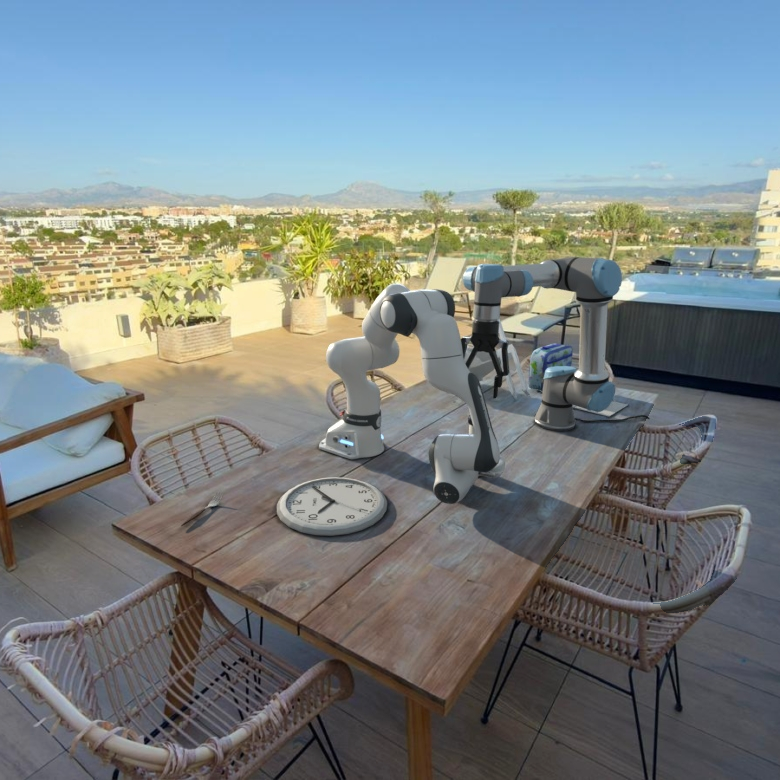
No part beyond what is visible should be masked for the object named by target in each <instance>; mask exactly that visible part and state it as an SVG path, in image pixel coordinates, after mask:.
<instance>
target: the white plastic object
mask: <svg viewBox="0 0 780 780" xmlns="http://www.w3.org/2000/svg"><path fill="white" fill-rule="evenodd" d="M498 321H499V333H498V336H499V339H500V340H502V341H508V340H507V337H506V334H505V331H504V328H503V325H502V321H501V318H499V319H498ZM473 348H474V346H469V344H467V349H466V353H465V358H464V362H465V363H466V361H467V360H468V358H469V356H470V354H471V352H472V350H473ZM495 350H496V354H497V357H498V360H499V363H500V365H501V368H503V362H502V348H500V347H499V348H498V349H495ZM507 350H508V361H510V360H513V363H514V366H515V369H516V372H517V376H518V380H519V382H520V385H521V389H522V391H523V393H524V395H525V396H526V397H528V396H531V395H530V390H529V386H528V384H527V381H526V378H525V375H524V371H523V369H522V368H523V367H522V366H521V362H520V359H519V355H518V352H517V349H516V347H515V346H514V345H513V343H511V344H510V343H509V345H508V348H507ZM468 370H469V371H470V372H471V373H473V374H475V375H476V376H477V378H478V380H479V382H480V383H481V382H482V381H484V378H485V377H486V376H487V375H489V374H490V373H492V372H494V371H495V368H494V365H493V362H492V359H491V356H490V355H489V352H488V353H487V352H484V351H482V352H477V354H476V356H475V357H474V359H473V361H472V363H471V365H470V367H469V369H468ZM504 377H505V380H506V383H507V386H508V390H509V393H510V394H511V395H512V397H513V398H514V399H515V400H517V392H516V391H517V390H516V388H515V385H514V381H513V378H512V375H511V372H510V373H509V374H508V375H507V376H504Z"/></svg>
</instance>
